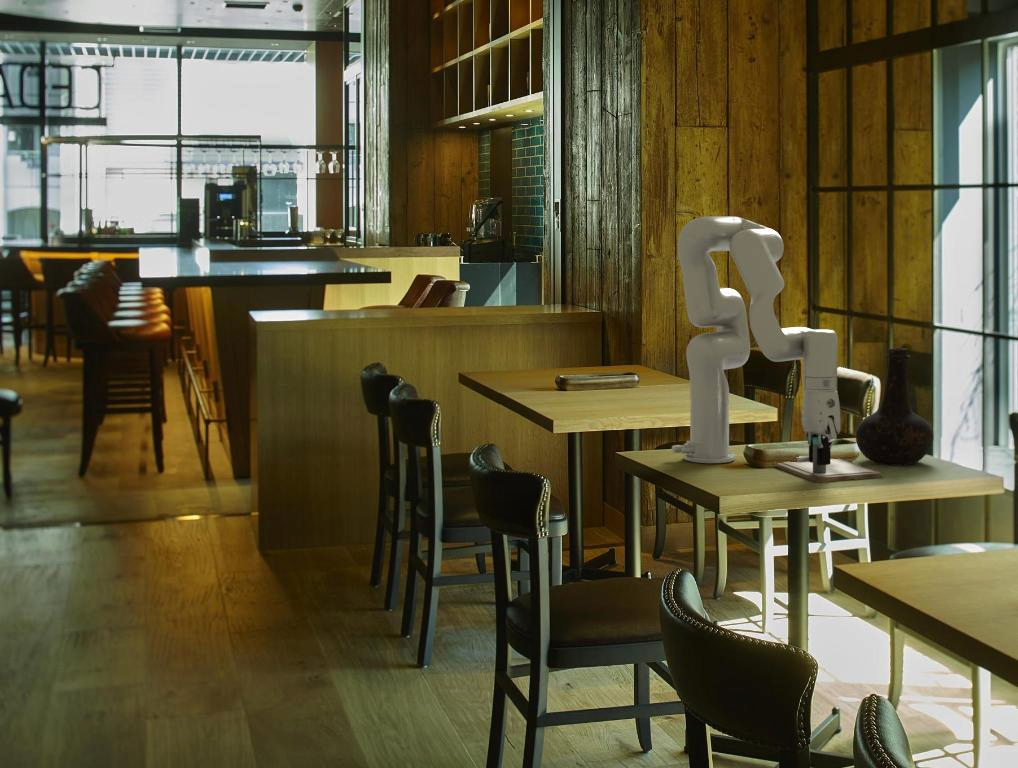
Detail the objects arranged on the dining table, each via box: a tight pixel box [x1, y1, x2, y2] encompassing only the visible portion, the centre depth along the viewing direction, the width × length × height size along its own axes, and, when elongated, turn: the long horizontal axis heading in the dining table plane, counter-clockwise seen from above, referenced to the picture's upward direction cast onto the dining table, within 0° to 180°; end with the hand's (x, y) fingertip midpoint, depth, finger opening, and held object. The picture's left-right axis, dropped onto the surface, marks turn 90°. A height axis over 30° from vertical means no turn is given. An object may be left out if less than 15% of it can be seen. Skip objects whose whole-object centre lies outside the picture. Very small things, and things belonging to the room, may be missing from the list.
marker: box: [813, 437, 826, 474], centre depth 289 cm, size 3×3×8 cm
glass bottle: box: [855, 347, 934, 466], centre depth 305 cm, size 18×18×28 cm
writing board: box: [777, 455, 883, 483], centre depth 296 cm, size 17×20×2 cm
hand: (819, 462), depth 289 cm, fingers closed on marker, 2 cm apart
